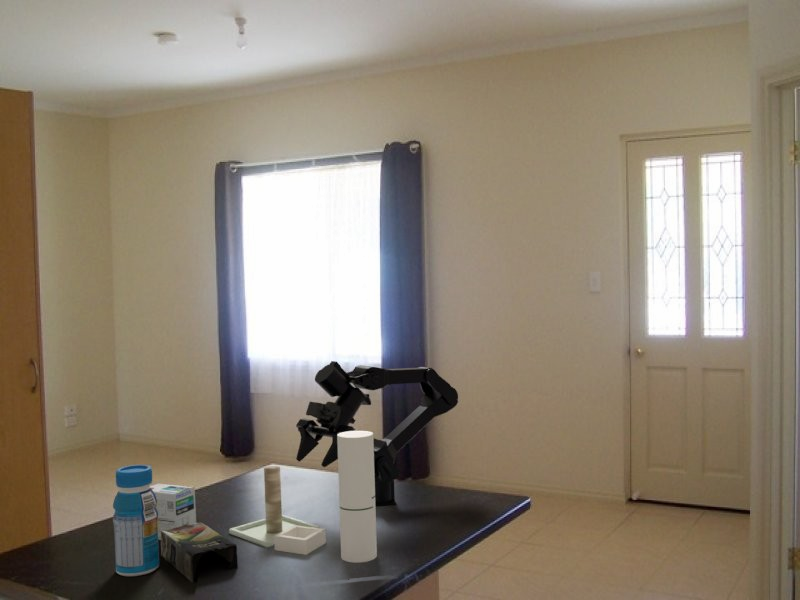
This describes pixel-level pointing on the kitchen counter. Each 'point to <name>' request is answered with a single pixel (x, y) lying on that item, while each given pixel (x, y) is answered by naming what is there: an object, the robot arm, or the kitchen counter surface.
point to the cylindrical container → (357, 496)
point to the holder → (300, 539)
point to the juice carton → (195, 547)
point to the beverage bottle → (135, 522)
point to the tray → (258, 530)
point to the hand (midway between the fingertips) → (310, 463)
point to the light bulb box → (174, 506)
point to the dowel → (273, 499)
